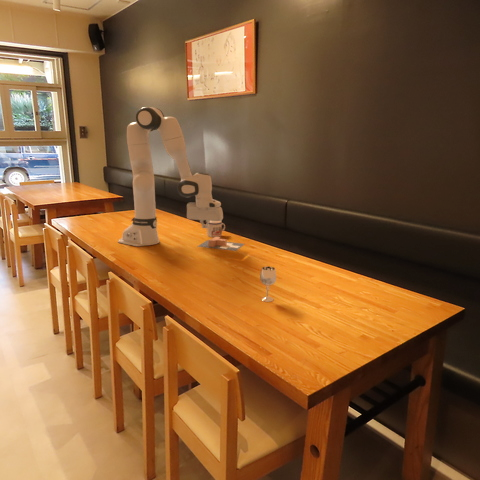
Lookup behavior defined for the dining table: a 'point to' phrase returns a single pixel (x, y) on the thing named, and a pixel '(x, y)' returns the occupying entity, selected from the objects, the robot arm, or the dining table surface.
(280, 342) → the dining table surface
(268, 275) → the wineglass
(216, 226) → the teacup with lid
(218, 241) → the t block
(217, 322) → the dining table surface
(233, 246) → the t mat
